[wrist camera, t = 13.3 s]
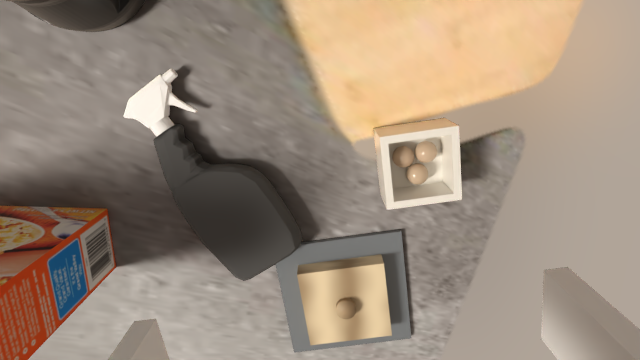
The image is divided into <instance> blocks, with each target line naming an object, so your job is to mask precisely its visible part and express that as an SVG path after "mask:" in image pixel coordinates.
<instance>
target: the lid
mask: <svg viewBox="0 0 640 360" xmlns="http://www.w3.org/2000/svg"><path fill="white" fill-rule="evenodd" d="M297 277H298V283H299V288H300V293H301V298H302V303H303V309H304V314H305V319H306V324H307V330H308V335H309V340H310V345H317V344H326V343H334V342H342V341H350V340H359V339H367V338H375V337H383V336H392V331H391V322H390V313H389V304H388V295H387V286H386V277H385V268H384V262H383V259H382V255H381V254H380V255H372V256H364V257H357V258H349V259H342V260H334V261H326V262H319V263H311V264H304V265H298V270H297Z"/></svg>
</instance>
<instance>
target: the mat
mask: <svg viewBox="0 0 640 360" xmlns="http://www.w3.org/2000/svg"><path fill="white" fill-rule="evenodd" d="M380 254H381V255H382V259H383V262H384V268H385V277H386V286H387V295H388V304H389V313H390V322H391V331H392V336H383V337H375V338H367V339H359V340H350V341H342V342H334V343H326V344H317V345H310V340H309V335H308V330H307V324H306V319H305V314H304V309H303V303H302V298H301V293H300V288H299V283H298V277H297V270H298V265H304V264H311V263H319V262H326V261H334V260H342V259H349V258H357V257H364V256H372V255H380ZM276 268H277V273H278V277H279V282H280V287H281V292H282V297H283V301H284V306H285V311H286V316H287V320H288V325H289V330H290V335H291V340H292V344H293V349H294V352H302V351H310V350H318V349H327V348H335V347H343V346H351V345H360V344H368V343H376V342H385V341H393V340H401V339H409V338H411V329H410V318H409V308H408V297H407V286H406V275H405V264H404V254H403V243H402V232H401V229H398V230H391V231H383V232H376V233H368V234H361V235H354V236H346V237H339V238H331V239H324V240H316V241H309V242H301V243H300V246H299V247H298V248H297V249H296V250H295V251H294V252H293V253H292V254H291V255H290V256H288V257H287V258H285V259H283V260H282V261H280V262H278V263H277V264H276Z"/></svg>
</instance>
